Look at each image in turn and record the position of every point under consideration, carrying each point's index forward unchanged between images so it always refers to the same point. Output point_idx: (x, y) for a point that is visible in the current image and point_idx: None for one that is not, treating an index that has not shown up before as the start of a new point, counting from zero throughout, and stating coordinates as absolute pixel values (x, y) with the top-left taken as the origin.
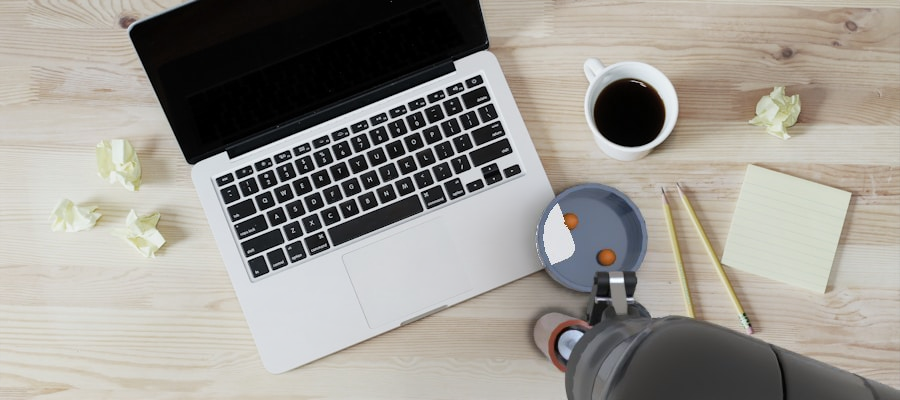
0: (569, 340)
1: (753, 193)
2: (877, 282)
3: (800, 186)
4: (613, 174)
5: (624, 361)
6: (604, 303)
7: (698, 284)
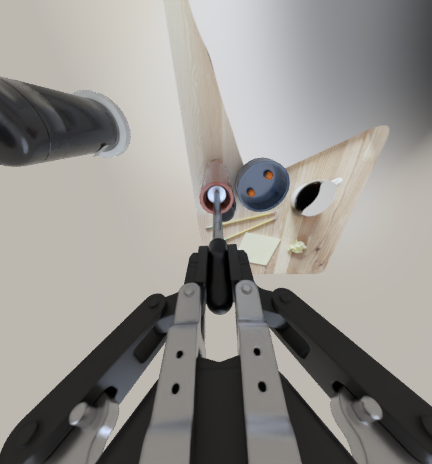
0: (219, 192)
1: (270, 241)
2: None
3: (270, 253)
4: None
5: None
6: (358, 414)
7: (238, 225)
